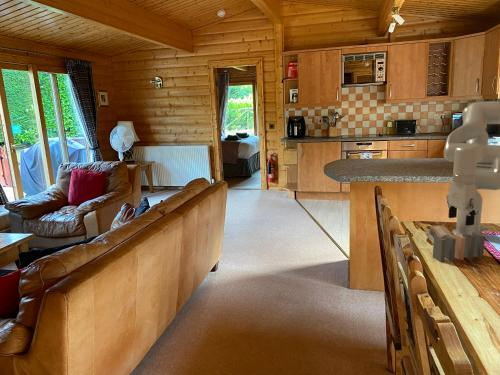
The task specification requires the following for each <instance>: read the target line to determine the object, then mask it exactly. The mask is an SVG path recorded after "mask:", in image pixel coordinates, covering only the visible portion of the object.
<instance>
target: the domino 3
mask: <svg viewBox="0 0 500 375" xmlns="http://www.w3.org/2000/svg"><path fill="white" fill-rule="evenodd" d="M452 235H453V238H455V239H456V244H455V257H454V259H455V258H456V259H457V260H460V261H463V260H464V258H465V256H464V249H465V237H463V236H460V235H458V234H453V233H452Z"/></svg>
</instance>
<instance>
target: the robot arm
mask: <svg viewBox="0 0 500 375" xmlns="http://www.w3.org/2000/svg"><path fill="white" fill-rule="evenodd" d="M461 114H462V115H461V117H462V125H460V126H459V127H457V128H456V129H455V130H453V131H452V132H450V134H448V136H447V138H446V141H445V145H444V148H443V157H444V160H446V161H448V162H453V171H452V172H453V173H452V180H451V182H450V186H449V190H448V194H447V195H446V196H445V197H446V203H447V207H448V218H449V219H453V218H456V228H454V229H452V232H451V234H452V235H453V234H458V235H460V236H463V233H468V234H470V235H472V232H477V233H479V234H481V235H484V236H485V234H484V233H483V231H489V230H490V226H488V225H484V226H483V225H482V224H481V221H482V210H483V197H482V194H481V193H480V192H479V191H478V190H486V191H488V190H489V191H499V190H500V145H498V144H488V141H489V133H488V132H487V131H486V128H487V125H500V101H496V100H495V101H491V100H490V101H475V102H472V103H470V104H469V105H468V106H465V107H464V109H463V110H462V113H461ZM477 166H478V167H477ZM489 167H490V168H489Z"/></svg>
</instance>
